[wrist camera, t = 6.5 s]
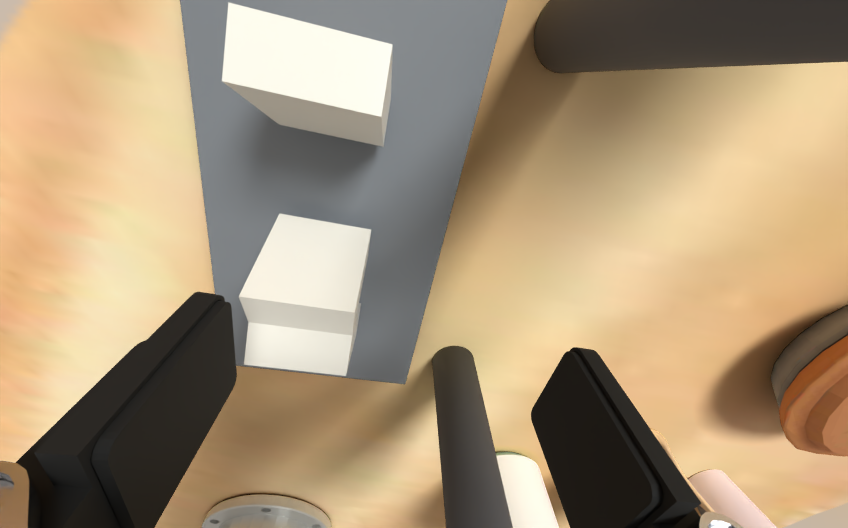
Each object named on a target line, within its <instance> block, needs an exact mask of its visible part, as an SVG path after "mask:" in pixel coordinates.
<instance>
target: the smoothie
mask: <svg viewBox="0 0 848 528" xmlns="http://www.w3.org/2000/svg"><path fill="white" fill-rule="evenodd" d="M688 480H689V481H690V483H691V484H692V485H693V486H694V488H695V489H696V490H697V491H698V493H699V494H700V495H701V496H702V497H703V498H704V499H705V501H706V502H707V503H708V504H709V505H710V506H711V507H712V508H713V510H714V511H715V512H716V513H719V514H722V515H725V516H726V517H728V518H730V519H732V520H734V521H735V522H737V523H738V524H739V525H741V526H742V527H743V528H777V527H776V526H775V525H774V524H773V523H772V522H771V521H770V520H769V519H768V518H767V517H766V516H765V515H764V514H763V513H762V512H761V511H760V510H759V508H758V507H757V506H756V505H755V504H754V503H753V502H752V501H751V500H750V499H749V498H748V497H747V496H746V495H745V494H744V493H743V492H742V491H741V490H740V489H739V488H738V487H737V486H736V485H735V484H734V482H733V481H732V480H731V479H730V478H729V477H728V476H727V475H726V474H725V473H724V472H723V471H721V470H717V469H711V470H705V471H702V472H699V473H697V474H695V475H693V476H692V477H690V478H689V479H688Z"/></svg>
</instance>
